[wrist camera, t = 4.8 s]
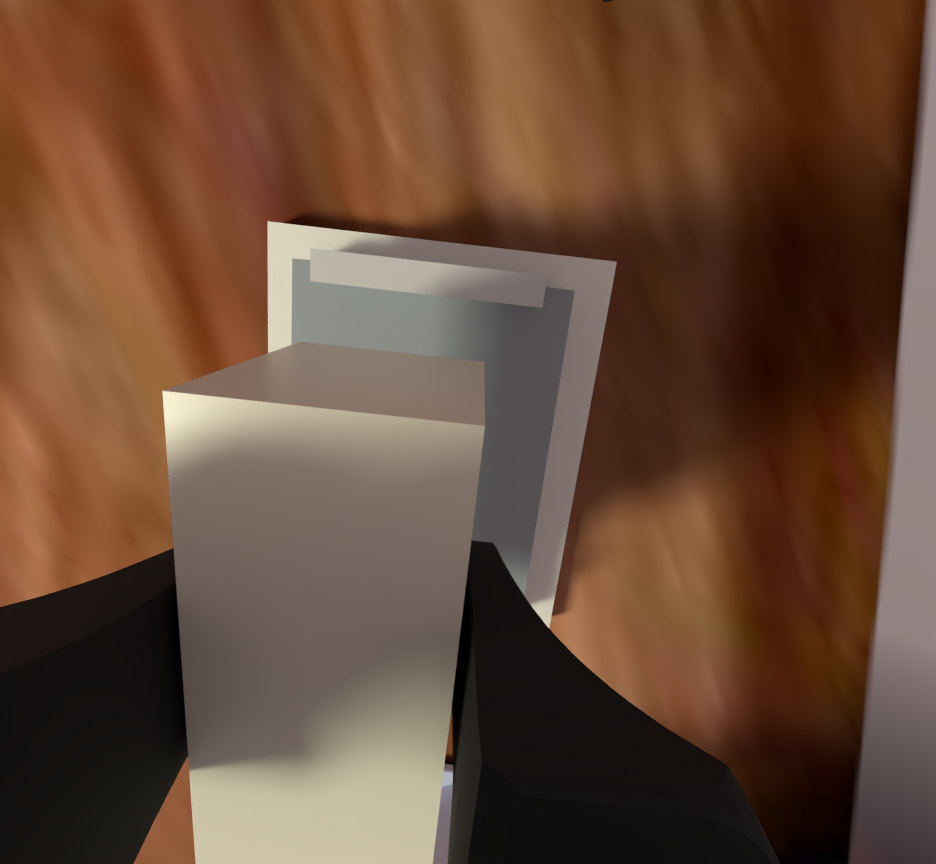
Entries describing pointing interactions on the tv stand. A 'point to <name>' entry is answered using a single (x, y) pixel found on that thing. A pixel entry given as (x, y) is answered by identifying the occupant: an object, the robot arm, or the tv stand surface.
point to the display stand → (468, 358)
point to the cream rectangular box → (321, 596)
